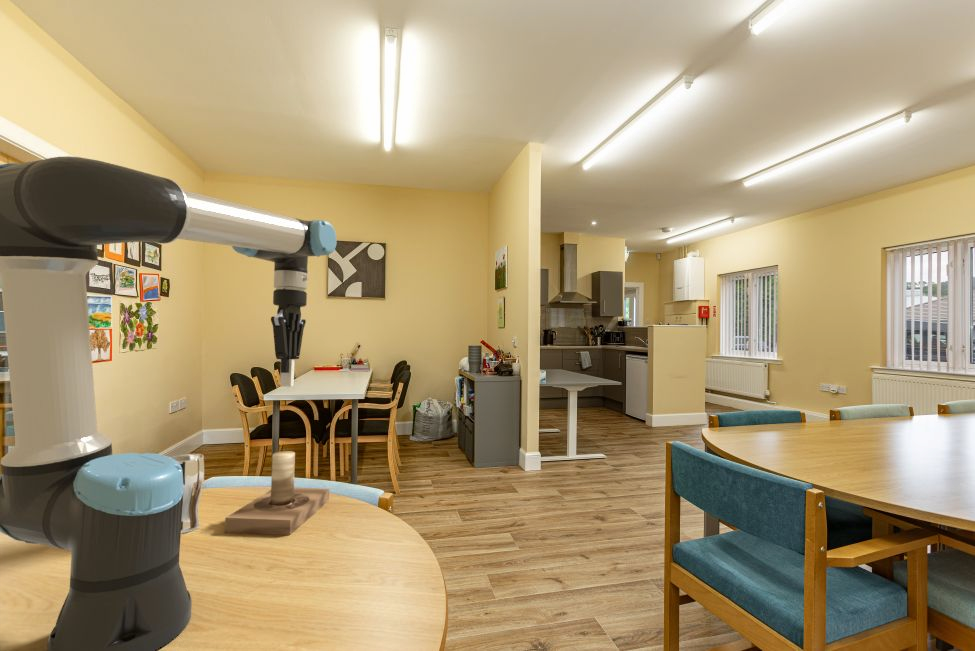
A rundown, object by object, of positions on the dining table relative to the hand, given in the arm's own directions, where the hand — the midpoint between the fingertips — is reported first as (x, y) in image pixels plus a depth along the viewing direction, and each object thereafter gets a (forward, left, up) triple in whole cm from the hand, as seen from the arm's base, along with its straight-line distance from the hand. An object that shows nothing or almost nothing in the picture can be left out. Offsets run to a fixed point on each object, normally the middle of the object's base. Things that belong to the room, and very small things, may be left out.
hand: (286, 386), depth 107 cm
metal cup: (-13, +15, -30) cm, 36 cm away
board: (-4, -2, -29) cm, 30 cm away
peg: (-4, -2, -29) cm, 30 cm away
